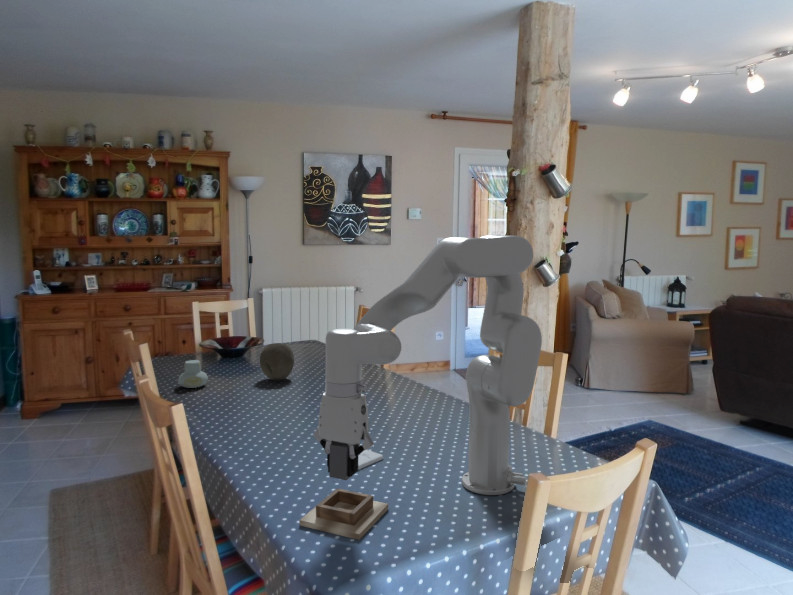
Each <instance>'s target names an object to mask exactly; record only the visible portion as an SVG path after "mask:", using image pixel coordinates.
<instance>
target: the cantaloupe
mask: <svg viewBox="0 0 793 595" xmlns="http://www.w3.org/2000/svg"><path fill="white" fill-rule="evenodd" d="M294 364H295V355H294V352H293V350H292V348H290V346H289V345H288V344H285V343H278V342H277V343H275V342H274V343H270V344H267V345H266V346H265V347H264V348H263V349H262V351H261V352H260V355H259V365H260V366H259V367H260V369H261V371H262V373H263V375H265V376H266V377H267V378H268V379H270V380H272V381H276V382H280V381H284V380H285V379H287V377H288V376H290V375H291V374H292V371H293V368H294Z"/></svg>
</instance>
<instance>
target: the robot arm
mask: <svg viewBox="0 0 793 595" xmlns="http://www.w3.org/2000/svg"><path fill="white" fill-rule="evenodd" d="M533 259H534V250H533V246H532V244H531V243H530V241H529V240H528V239H526V238H525V237H522V236H521V235H504V234H503V235H502V234H486V235H483V236H480V237H463V236H461V237H459V236H458V237H457V236H454V237H453V236H451V237H446V238H443V239H442V240H440V242H438V243H437V244H436V245H435V247H433V248H432V249H431V251H430V252H429V253H428V255H426V257H425V258H424V259H423V260H422V261H421V263H420V264H419V265H418V266H417V268H415V269H414V271H413V272H412V273H411V275H409V276H408V277H407V278H406V280H405V281H404V282H403V283H402V284H400V285H399V286H397V287H395V288H394V289H392V290H391V291H390V292H389V293H388V294H386V295H384V296H383V297H382V298H380V299H379V300H378V301H377V302H375V303H374V304H373V305H372V306H371V307H370V308H369V309H368V310H367V311H366V313H364V315H362V317H361V318H360V319H359V321H358V322H357V323H356V325H355V326H354V328H333V329H331V330H329V331H328V332H327V333H326V334H325V348H324V349H325V350H324V351H325V353H324V354H325V366H324V367H325V368H324V369H325V370H324V372H325V378H324V379H325V382H324V383H325V385H324V387H325V388H324V392H323V394H322V396H321V400H320V406H319V414H318V415H319V416H318V426H317V428H316V429H315V432H314V433H313V434H312V435H313V438H314V439H315V440H317V441H318V443H319V445H321V447H322V448H323V449H324V453H325V454H326V458H327V459H326V467H327V472H328V473H329V474H330V444H332V443H333V442H339V443H345V444H348V448H349V454H350V458H348V477H350V478H351V477H353V476H354V475H355V474H356V473H357V472H358V471H359V470H358V455H360V454H361V453H362V452H363V451H364V450H366V449H367V450H369V449H370V448H371V447H373V446H374V442H373V439H372V438H371V436H370V422H369V411H368V410H369V409H368V403H367V399H366V398H367V397H366V398H365V396H366V395H365V394H364V393H367V390H368V387H367V385H364V384H363V381H362V370H363V369H362V366H363V364H364V365H378V366H382V365H383V366H384V365H388V364H389V365H390V364H391V363H393V362H395V361H396V360H397V359H398V358H399V357H400V355H401V352H402V342H401V340H400V338H399V337H398V335H397V334H396V333H394V332H393V331H392V330H393V329H394V328H395V327H396V326H398V325H399V324H400V323H401V322H403V321H405V320H406V319H408V318H411V317H413V316H416V315H419V314H423V313H426V312H428V311H430V310H432V309H434V308H435V307H436V306H437V305H438V304H439V302H440V301H441V299H443V297H444V296H445V295H446V294H447V293H448V291H449V290H450V289H451V288H452V287H453V285H454V284H455V283H456V282H457V281H458V280H459V278H460V277H463V278H472V279H473V278H474V279H477V278H484V279H485V281H486V287H487V288H486V299H485V304H484V310H483V314H482V319H481V325H480V332H479V338H480V341H481V343H482V344H483V345H484V346H485V348H488V349H489V350H490V349H491V350H492V351H495V352H498V353H502V357H498V356H496V355H492V354H491V355H490V354H482V355H478V356H476V357H474V358H473V359H472V360H471V361H470V363H469V364H468V366H467V369H466V374H465V379H466V380H465V382H466V387H467V388H466V389H467V395H468V404H469V406H468V407H469V412H468V413H469V414H468V415H469V418H468V423H469V424H468V471H467V472H466V473H464V474H463V475H462V477H461V484H462V486H463V487H464V488H465V489H467V490H468V491H470V492H472V493H476V494H479V495H484V496H499V495H504V494H507V493H510V492H511V491H513V489H514V488H515V484H517V486H518V485H519V486H526V484H527V477H526V476H524V473H521V472H514V470H512V465H511V464H509V463H510V461H509V456H510V452H509V450H510V421H511V420H510V419H511V418H510V416H511V415H510V414H511V413H510V408H509V407H517V406H521V405H522V404H524V403H525V402H527V400H528V399H529V398H530V396H531V394H532V391H533V389H534V386H535V380H536V375H537V371H538V367H539V362H540V361H539V360H540V356H541V351H542V350H541V349H542V345H543V344H542V342H543V337H542V332H541V328H540V327H539V324H538V323H537V321H535V320H534V319H532V318H531V317H529V316H526V315H522V308H523V301H524V293H525V292H524V291H525V289H524V283H523V279H522V277H521V274H522V273H523V272H525V271H526V270H528V268H529V267H530V266H531V265H532V262H533ZM361 440H362V442H363V443H362V444H360V443H361Z"/></svg>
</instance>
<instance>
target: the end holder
mask: <svg viewBox="0 0 793 595" xmlns="http://www.w3.org/2000/svg"><path fill="white" fill-rule="evenodd" d="M388 510H389V503H387V502H381V501H377V500H374V495H371V494H368V493H367V494H366V493H363V492H362V493H361V492H357V491H352V490H348V489H343V488H335V489H334V490H332V492H331V493H330V494H328V495H327V496H326V497H324V499H322V500H321V501H320V502H318V503H317V504H316V505H315V507H314V508H312V509H311V510H310V511H309V512H307V513H306V514H305V515H304V516H302V517H301V518H300V519H299V526H301V527H303V528H304V527H305V528H309V529H313V530H318V531H319V532H320V531H321V532H323V533H324V532H325V533H328V534H333V535H337V536H342V537H345V538H350V539H354V540H359V541H360V540H361V539H362V538H363V537H364V536H365V535H366V534H367V532H368V531H369V530H370V529H371V528H372V527H373V526H374V525H375V524H376V523H377V522H378V520H380V519H381V518H382V517H383V515H384V514H385V513H386V512H387V511H388Z"/></svg>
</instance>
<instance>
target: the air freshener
mask: <svg viewBox="0 0 793 595" xmlns="http://www.w3.org/2000/svg"><path fill="white" fill-rule="evenodd" d="M201 365H202V364H201V361H200V360H199V359H190V360H186V361H184V372H183V373H181V374H180V375H179V376H178V384H179V385H180V386H182V387H183V388H186V389H189V388H195V389H198V388H201V387H203V386H204V385H205V384H207V382H208V380H209V376H208V375H207V373H206V372H204V371H202V369H201V368H202V366H201ZM197 387H198V388H197Z"/></svg>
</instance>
